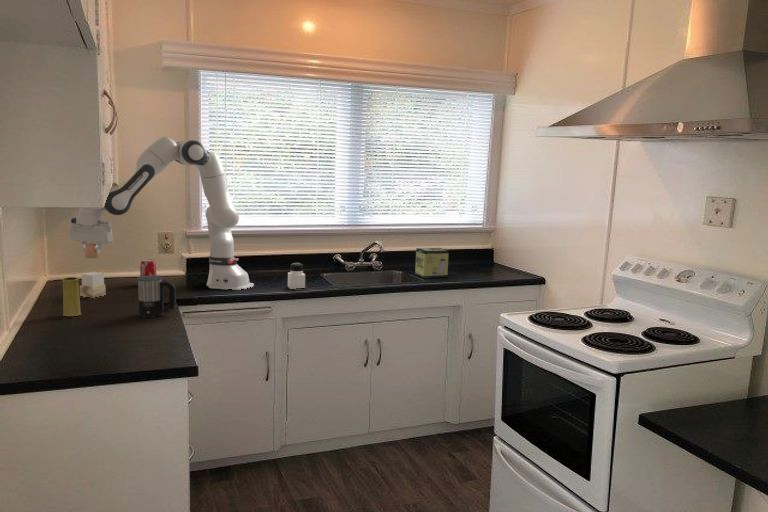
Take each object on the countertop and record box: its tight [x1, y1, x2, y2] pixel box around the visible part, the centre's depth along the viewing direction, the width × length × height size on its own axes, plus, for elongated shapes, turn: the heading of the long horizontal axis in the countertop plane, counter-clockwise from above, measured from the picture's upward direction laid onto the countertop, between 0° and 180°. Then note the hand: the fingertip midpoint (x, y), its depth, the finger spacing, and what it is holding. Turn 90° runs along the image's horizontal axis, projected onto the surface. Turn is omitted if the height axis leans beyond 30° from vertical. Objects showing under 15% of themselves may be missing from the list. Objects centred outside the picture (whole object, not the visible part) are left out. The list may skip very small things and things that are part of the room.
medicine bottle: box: [287, 262, 306, 290], centre depth 286 cm, size 7×7×12 cm
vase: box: [62, 276, 82, 317], centre depth 221 cm, size 6×6×14 cm
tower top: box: [81, 271, 105, 287], centre depth 253 cm, size 6×6×5 cm
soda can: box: [139, 258, 157, 277], centre depth 279 cm, size 7×7×12 cm
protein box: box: [414, 247, 450, 278], centre depth 330 cm, size 10×16×16 cm
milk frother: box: [136, 274, 177, 318], centre depth 231 cm, size 14×16×15 cm
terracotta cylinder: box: [84, 242, 99, 259], centre depth 251 cm, size 5×5×6 cm
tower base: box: [79, 283, 107, 299], centre depth 254 cm, size 7×7×5 cm
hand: (91, 252), depth 251 cm, fingers closed on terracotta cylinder, 5 cm apart
